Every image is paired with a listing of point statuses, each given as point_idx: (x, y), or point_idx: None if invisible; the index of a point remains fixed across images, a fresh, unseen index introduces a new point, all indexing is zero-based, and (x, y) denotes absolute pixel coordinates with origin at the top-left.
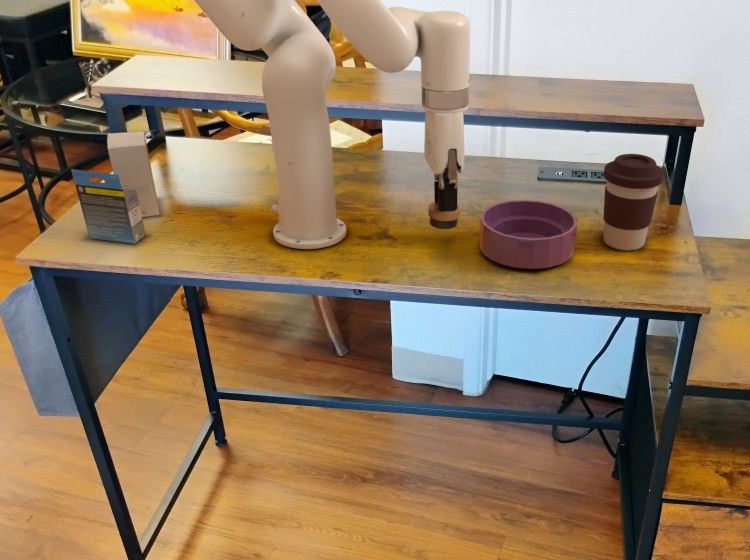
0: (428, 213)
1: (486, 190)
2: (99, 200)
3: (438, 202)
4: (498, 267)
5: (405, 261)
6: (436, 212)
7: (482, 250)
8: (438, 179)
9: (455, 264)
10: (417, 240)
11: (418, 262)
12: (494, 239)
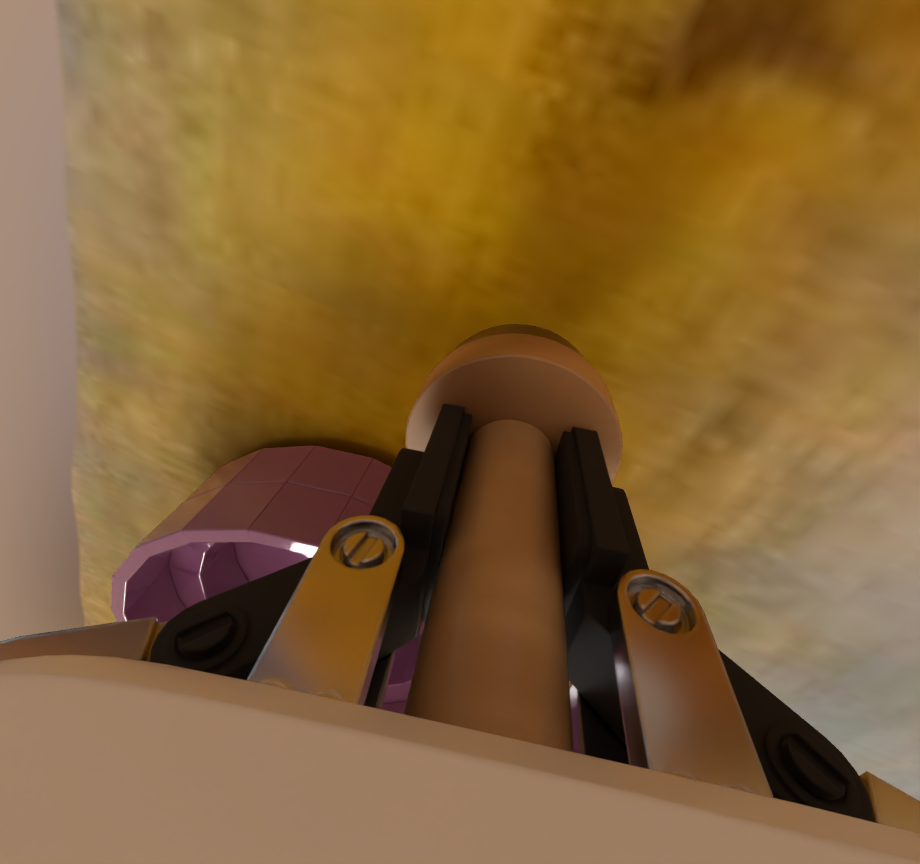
0: (535, 339)
1: (872, 673)
2: None
3: (444, 432)
4: (247, 450)
5: (342, 62)
6: (437, 377)
7: (312, 451)
8: (612, 598)
9: (282, 319)
10: (575, 236)
11: (320, 144)
12: (192, 509)
